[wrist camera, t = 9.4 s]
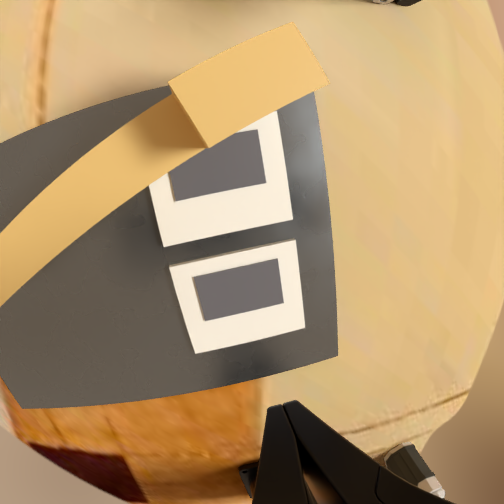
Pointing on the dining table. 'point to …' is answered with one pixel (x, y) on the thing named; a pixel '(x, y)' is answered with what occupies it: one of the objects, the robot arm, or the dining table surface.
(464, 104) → the dining table surface
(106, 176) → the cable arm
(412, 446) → the camera
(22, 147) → the chassis plate
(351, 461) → the robot arm
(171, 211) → the label tile
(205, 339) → the label tile
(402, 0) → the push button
